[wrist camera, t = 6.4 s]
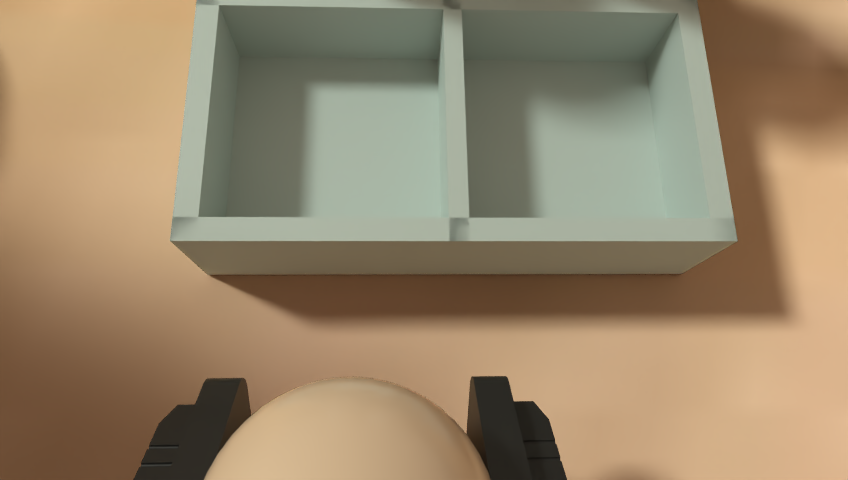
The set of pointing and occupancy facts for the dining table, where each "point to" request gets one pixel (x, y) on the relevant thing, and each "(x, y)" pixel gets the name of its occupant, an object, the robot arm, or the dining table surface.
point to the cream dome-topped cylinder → (349, 437)
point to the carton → (450, 138)
